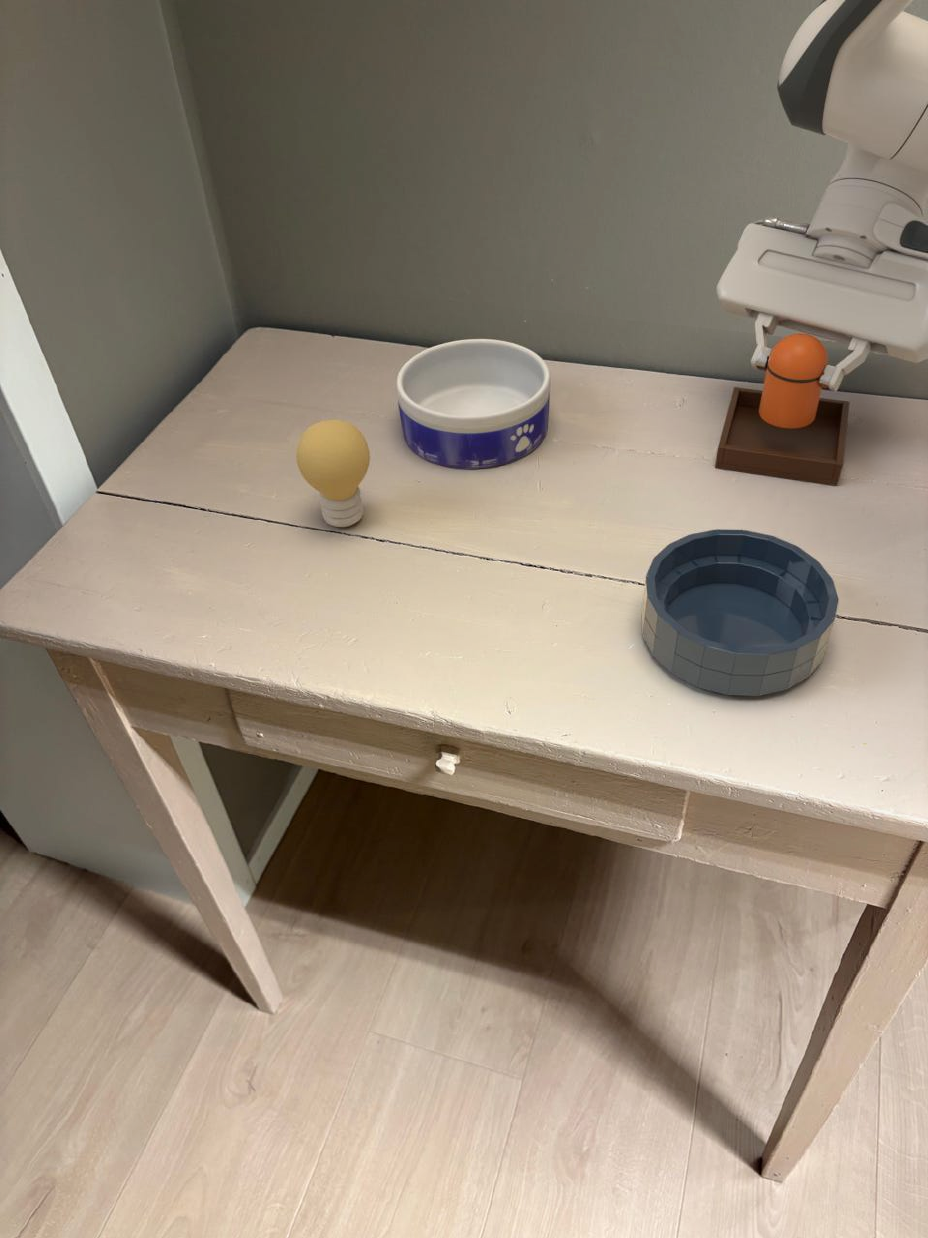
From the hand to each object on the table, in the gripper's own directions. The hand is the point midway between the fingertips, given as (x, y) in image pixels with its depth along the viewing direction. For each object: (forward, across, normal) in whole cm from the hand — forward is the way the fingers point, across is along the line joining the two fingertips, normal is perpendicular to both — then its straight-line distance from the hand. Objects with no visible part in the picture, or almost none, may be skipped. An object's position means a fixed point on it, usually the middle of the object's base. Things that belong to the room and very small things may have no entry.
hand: (792, 377), depth 89 cm
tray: (+5, 0, +6) cm, 8 cm away
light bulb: (+29, -28, -18) cm, 44 cm away
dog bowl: (+15, -27, -4) cm, 31 cm away
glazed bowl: (+24, +8, -13) cm, 28 cm away
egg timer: (+2, 0, +3) cm, 4 cm away
